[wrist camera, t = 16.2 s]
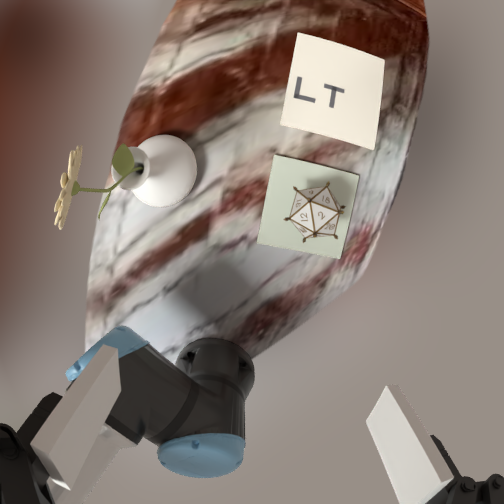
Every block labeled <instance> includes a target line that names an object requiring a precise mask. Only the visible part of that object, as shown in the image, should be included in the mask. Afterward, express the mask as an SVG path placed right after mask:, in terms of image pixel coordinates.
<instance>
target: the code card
mask: <svg viewBox="0 0 504 504" xmlns="http://www.w3.org/2000/svg"><path fill="white" fill-rule="evenodd" d="M384 62H385V60H383V59H381V58H378V57H376V56H373V55H370V54H368V53H365V52H362V51H359V50H357V49H354V48H351V47H348V46H345V45H342V44H338V43H335V42H332V41H328V40H325V39H321V38H318V37H314V36H310V35H306V34H302V33H298V34H297V40H296V45H295V50H294V55H293V60H292V65H291V71H290V76H289V81H288V86H287V91H286V96H285V101H284V106H283V112H282V117H281V122H280V125H283V126H287V127H292V128H296V129H300V130H304V131H308V132H312V133H316V134H320V135H324V136H328V137H331V138H335V139H339V140H342V141H345V142H349V143H352V144H355V145H359V146H362V147H365V148H368V149H371V150H374V148H375V141H376V135H377V128H378V121H379V113H380V105H381V96H382V86H383V75H384Z"/></svg>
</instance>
